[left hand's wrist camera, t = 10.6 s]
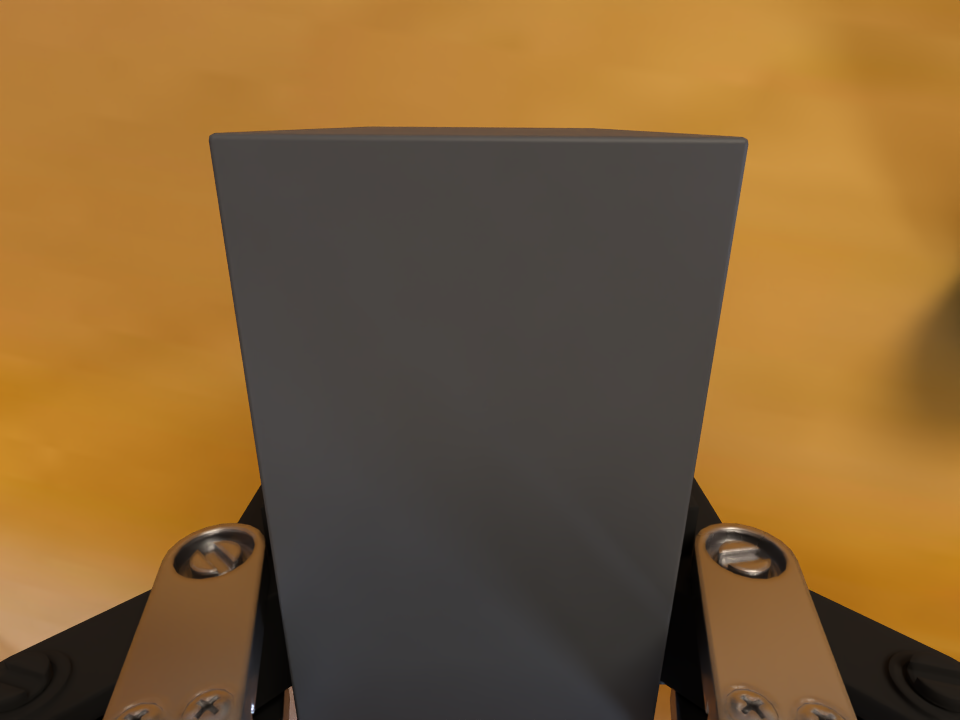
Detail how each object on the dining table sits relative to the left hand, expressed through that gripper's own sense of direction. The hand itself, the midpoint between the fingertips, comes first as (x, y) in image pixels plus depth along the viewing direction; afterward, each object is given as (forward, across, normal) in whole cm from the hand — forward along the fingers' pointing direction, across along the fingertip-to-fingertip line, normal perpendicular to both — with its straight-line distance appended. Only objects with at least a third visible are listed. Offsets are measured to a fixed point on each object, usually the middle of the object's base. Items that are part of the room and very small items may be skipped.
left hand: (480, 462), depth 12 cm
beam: (+3, 0, -28) cm, 28 cm away
